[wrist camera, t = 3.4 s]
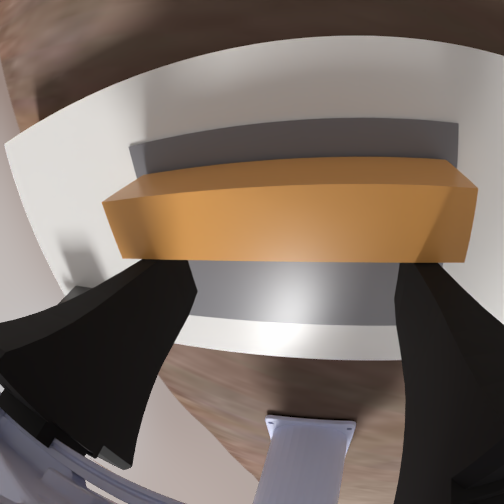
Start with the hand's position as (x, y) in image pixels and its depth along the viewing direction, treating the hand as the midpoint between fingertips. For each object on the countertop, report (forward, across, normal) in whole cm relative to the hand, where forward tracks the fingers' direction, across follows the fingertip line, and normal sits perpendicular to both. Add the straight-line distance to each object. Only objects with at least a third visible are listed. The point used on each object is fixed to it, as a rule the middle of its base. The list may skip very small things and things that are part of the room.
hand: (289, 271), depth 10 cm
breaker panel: (+4, 0, 0) cm, 4 cm away
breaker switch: (+1, 0, -2) cm, 3 cm away
